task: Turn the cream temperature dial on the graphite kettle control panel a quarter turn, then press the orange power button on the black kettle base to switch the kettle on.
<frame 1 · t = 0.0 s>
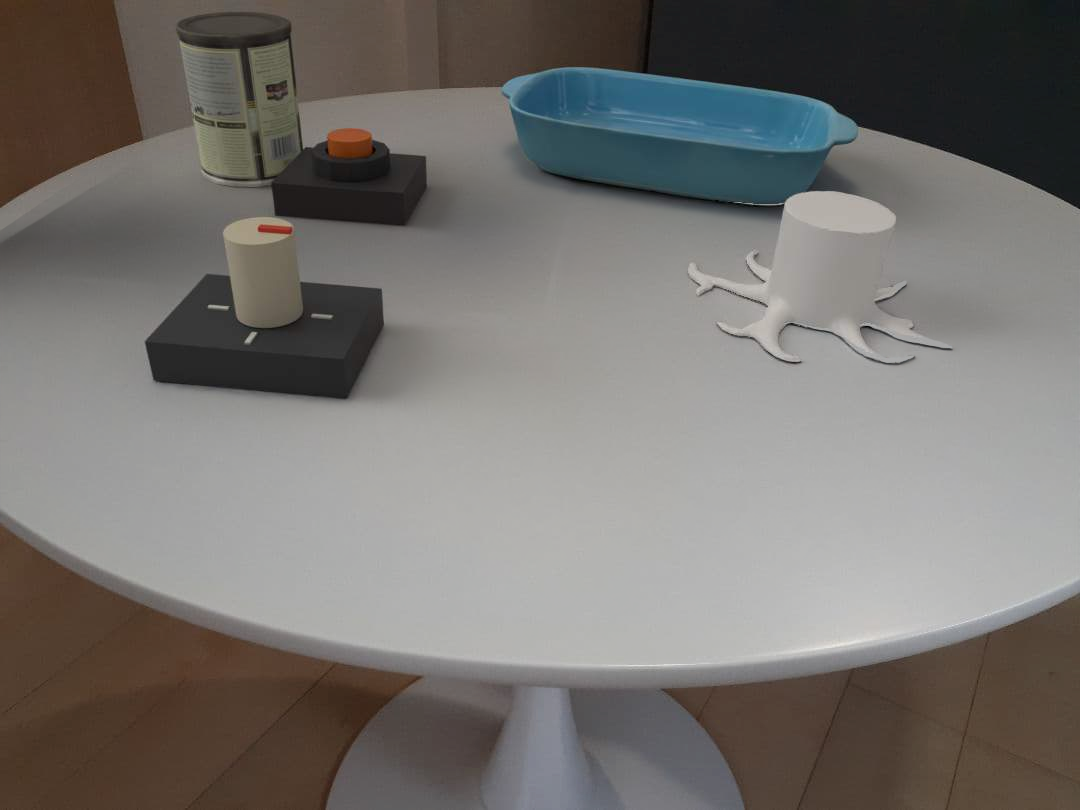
casserole dish: (667, 169, 99), on the table
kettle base: (354, 201, 88), on the table
dial panel: (275, 351, 64), on the table
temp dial: (264, 270, 61), point 6 cm above the table, hinge at 0.0°
coffee can: (254, 172, 93), on the table
power button: (350, 144, 85), point 5 cm above the table, slide at 0.1 cm
tree stump: (810, 307, 74), on the table
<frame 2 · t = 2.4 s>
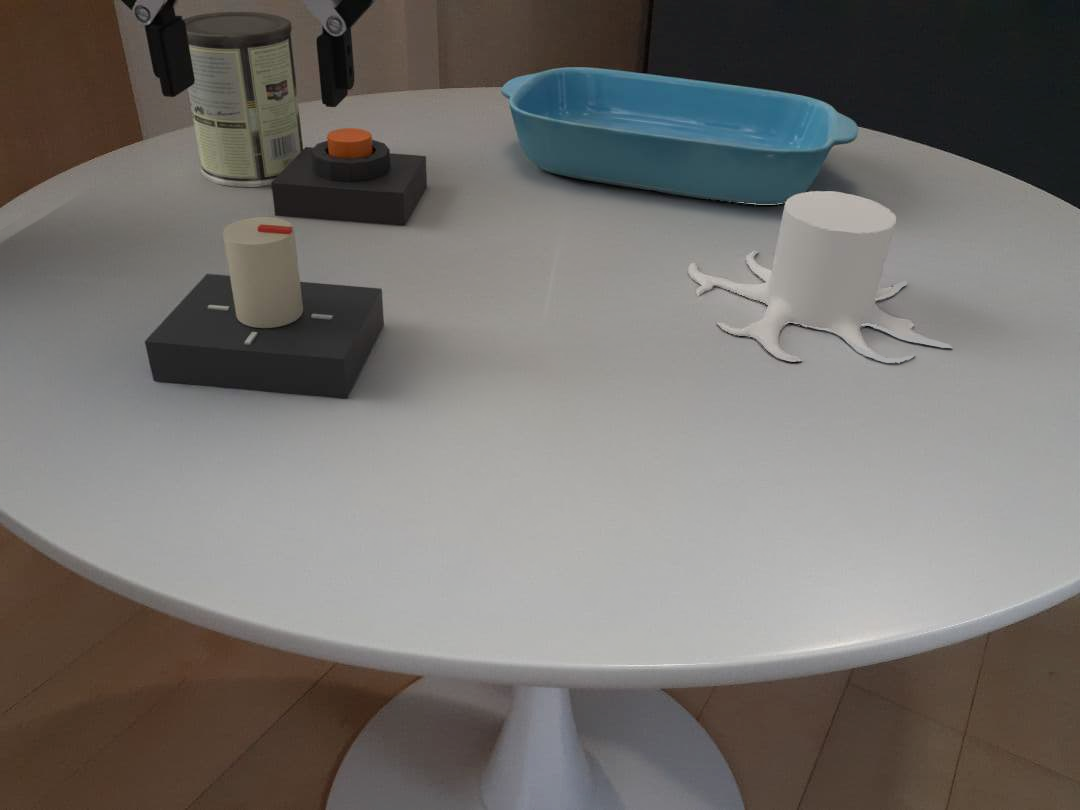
hand: (257, 95, 56), 17 cm above the table, tool pointing down, fingers open, 9 cm apart
nothing on the table moved.
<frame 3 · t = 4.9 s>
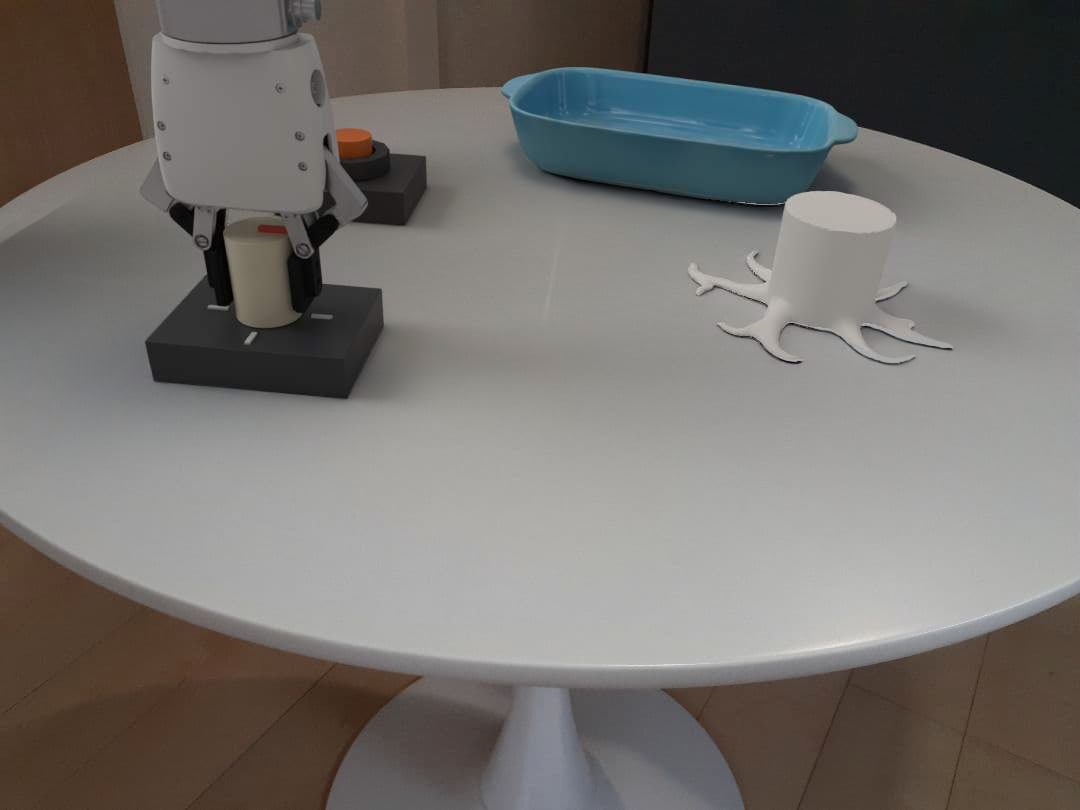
hand: (268, 298, 62), 4 cm above the table, tool pointing down, fingers closed on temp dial, 4 cm apart
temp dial: (264, 270, 61), point 6 cm above the table, hinge at 0.1°, touching gripper
everything else where it was.
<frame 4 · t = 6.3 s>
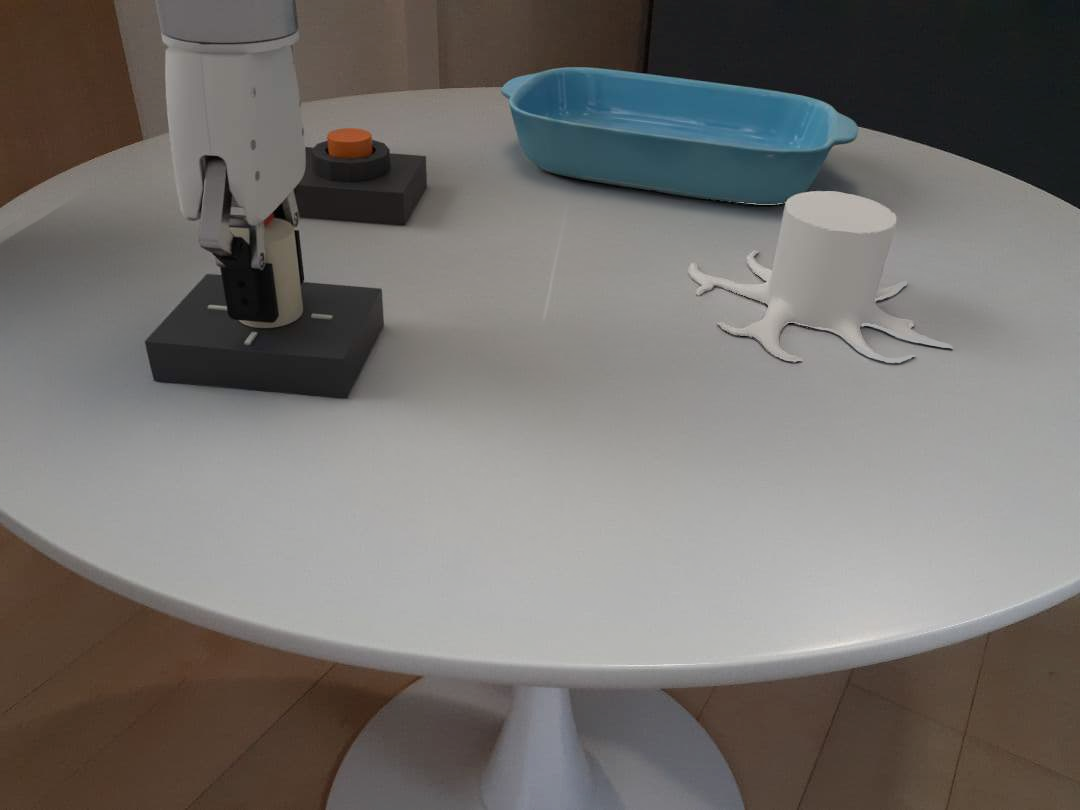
hand: (267, 298, 62), 4 cm above the table, tool pointing down, fingers closed on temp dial, 4 cm apart
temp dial: (264, 270, 61), point 6 cm above the table, hinge at 90.3°, touching gripper
everything else where it was.
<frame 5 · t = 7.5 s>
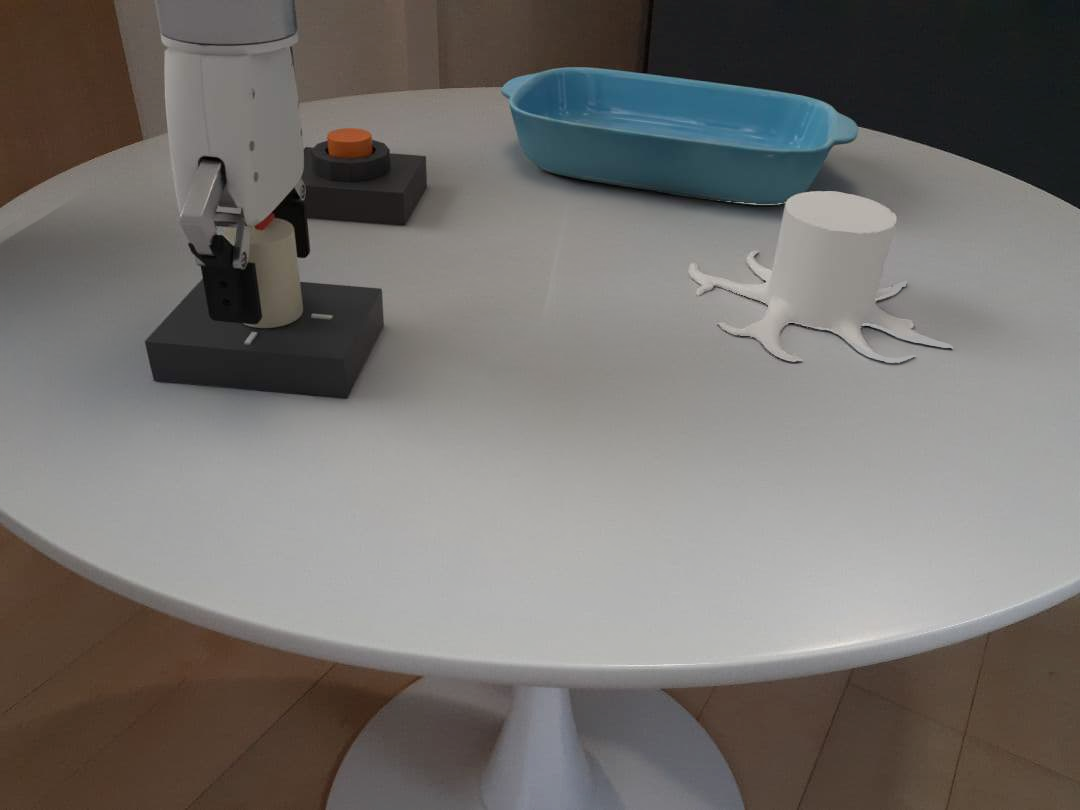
hand: (263, 285, 62), 5 cm above the table, tool pointing down, fingers open, 9 cm apart
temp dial: (264, 270, 61), point 6 cm above the table, hinge at 89.2°
everything else where it was.
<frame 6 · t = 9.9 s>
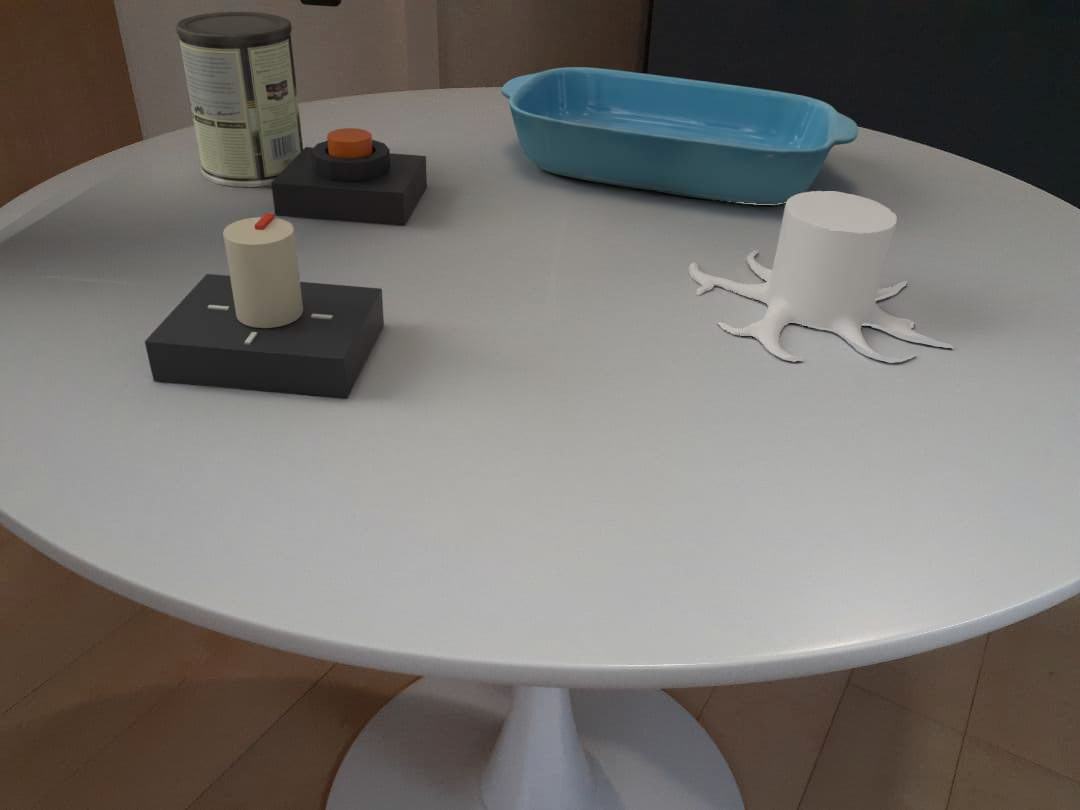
nothing on the table moved.
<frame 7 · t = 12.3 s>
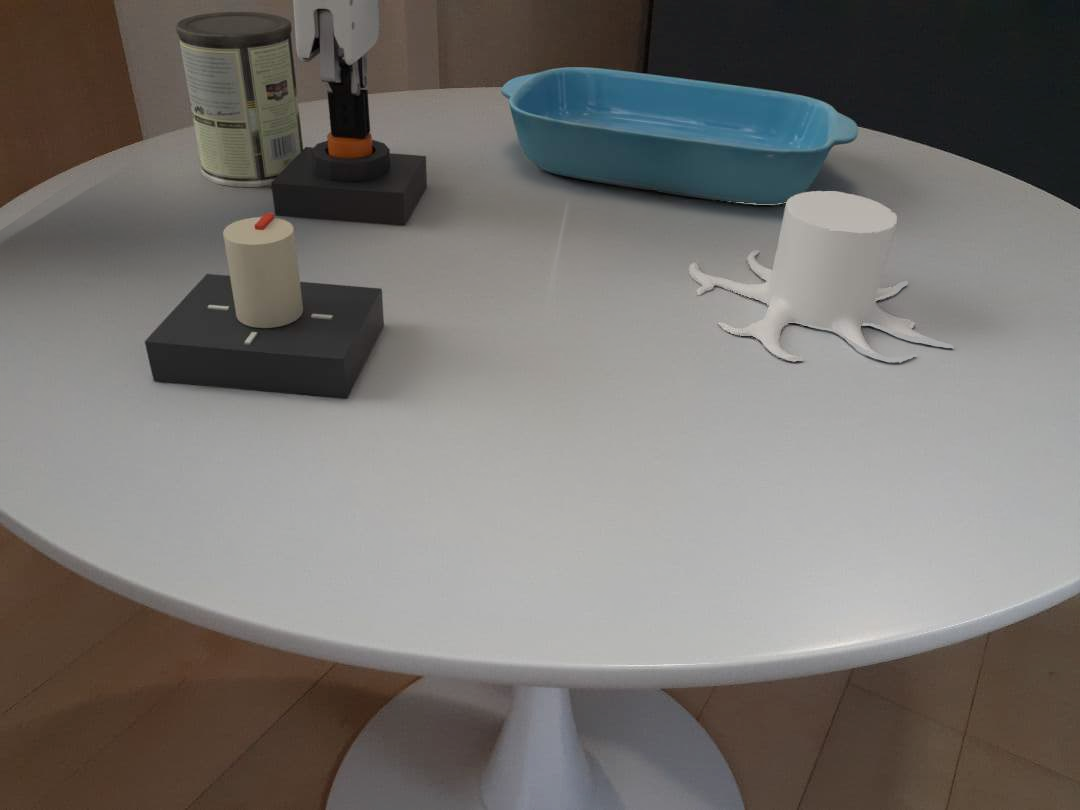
hand: (351, 135, 84), 6 cm above the table, tool pointing down, fingers closed
power button: (350, 144, 85), point 5 cm above the table, slide at 0.0 cm, touching gripper
everything else where it was.
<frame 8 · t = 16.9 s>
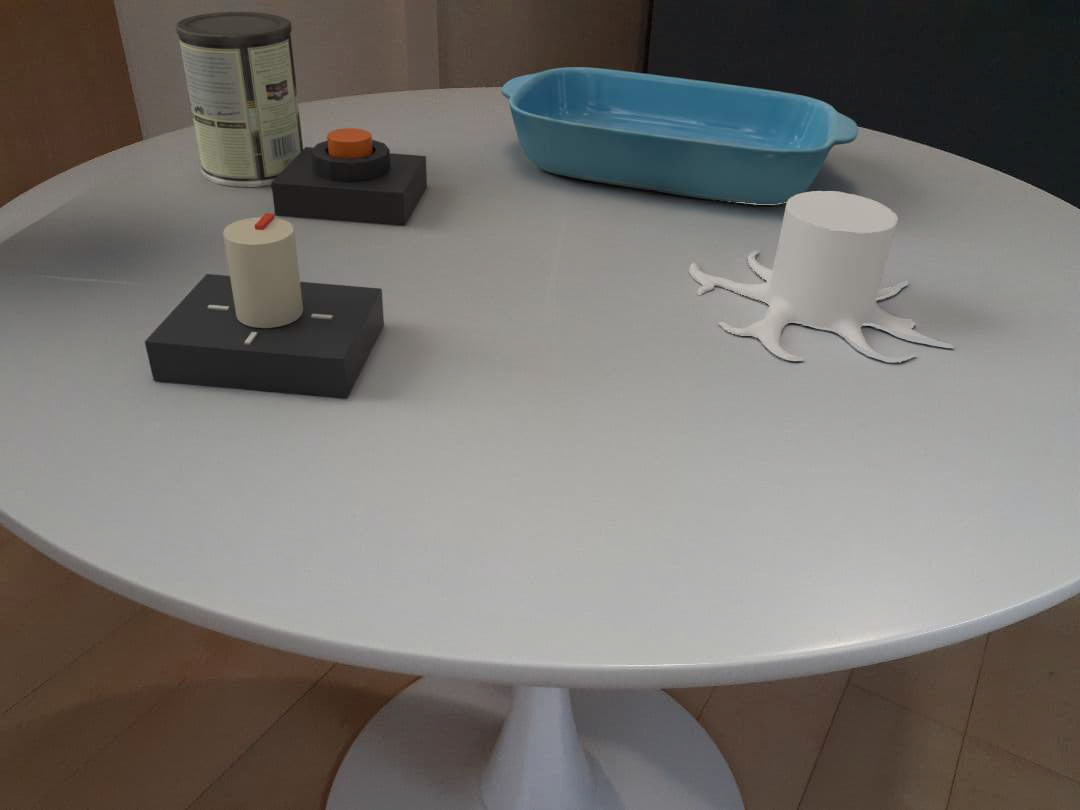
power button: (350, 144, 85), point 5 cm above the table, slide at 0.1 cm
everything else where it was.
at the end: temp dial at +89° (first picture: +0°); power button pushed in 1.1 cm at the most during the clip, back to where it started at the end; power button slide at 0.1 cm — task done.
